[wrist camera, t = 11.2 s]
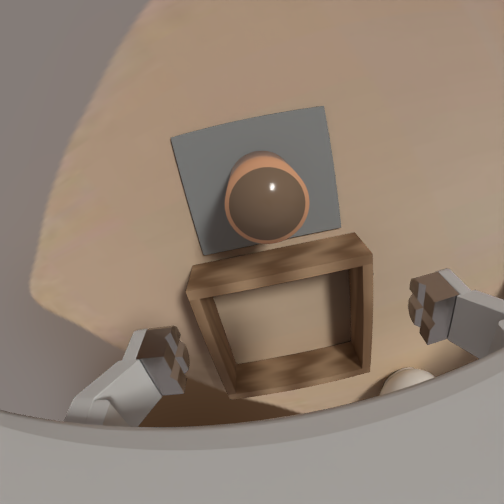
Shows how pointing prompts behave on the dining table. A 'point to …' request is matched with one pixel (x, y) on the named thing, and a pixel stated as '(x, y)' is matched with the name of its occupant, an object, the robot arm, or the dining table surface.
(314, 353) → the wooden frame
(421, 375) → the lidded jar
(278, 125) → the slate mat
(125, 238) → the dining table surface
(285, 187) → the peach cylinder
